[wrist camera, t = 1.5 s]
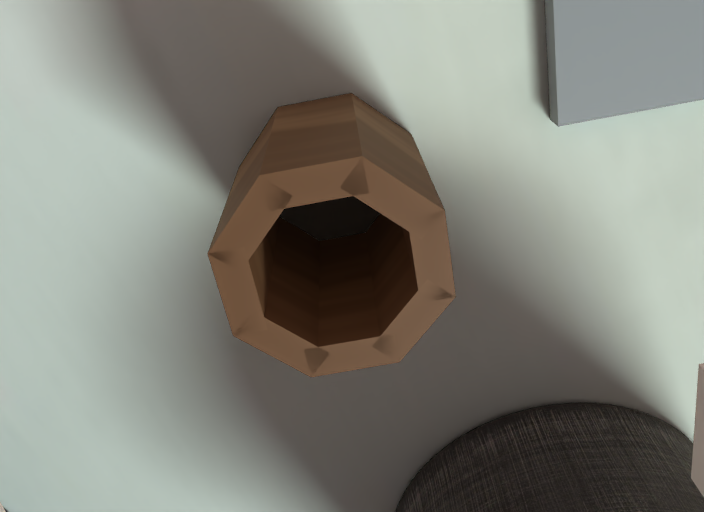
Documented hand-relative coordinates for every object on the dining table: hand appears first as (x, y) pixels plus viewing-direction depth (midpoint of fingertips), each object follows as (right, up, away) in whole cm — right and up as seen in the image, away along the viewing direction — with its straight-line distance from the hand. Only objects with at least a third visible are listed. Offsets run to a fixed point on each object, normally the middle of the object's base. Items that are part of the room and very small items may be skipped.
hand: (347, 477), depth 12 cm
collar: (-1, +7, +14) cm, 16 cm away
